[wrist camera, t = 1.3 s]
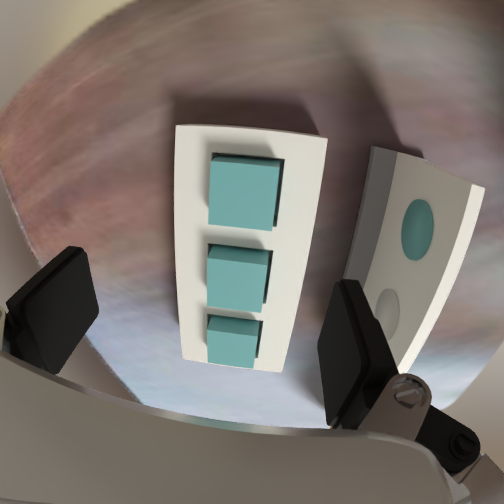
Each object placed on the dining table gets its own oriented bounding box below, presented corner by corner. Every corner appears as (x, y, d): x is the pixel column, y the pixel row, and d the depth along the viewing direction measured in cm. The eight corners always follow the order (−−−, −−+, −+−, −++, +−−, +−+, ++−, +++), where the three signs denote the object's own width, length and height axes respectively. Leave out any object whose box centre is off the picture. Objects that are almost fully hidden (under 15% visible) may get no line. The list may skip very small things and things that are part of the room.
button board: (320, 135, 24) (327, 138, 21) (282, 349, 36) (281, 372, 32) (190, 123, 25) (175, 125, 21) (190, 337, 36) (183, 358, 33)
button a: (279, 160, 23) (279, 167, 20) (272, 216, 25) (271, 231, 22) (219, 155, 23) (210, 161, 20) (216, 210, 26) (208, 224, 23)
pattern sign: (424, 158, 24) (507, 197, 12) (361, 354, 36) (379, 434, 24) (371, 145, 24) (441, 174, 12) (319, 352, 36) (328, 437, 24)
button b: (268, 247, 27) (267, 265, 24) (263, 291, 29) (261, 312, 26) (215, 241, 27) (207, 258, 24) (213, 285, 29) (206, 305, 26)
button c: (260, 314, 30) (257, 336, 27) (255, 347, 33) (253, 368, 30) (213, 308, 31) (207, 329, 28) (213, 341, 33) (207, 362, 30)
